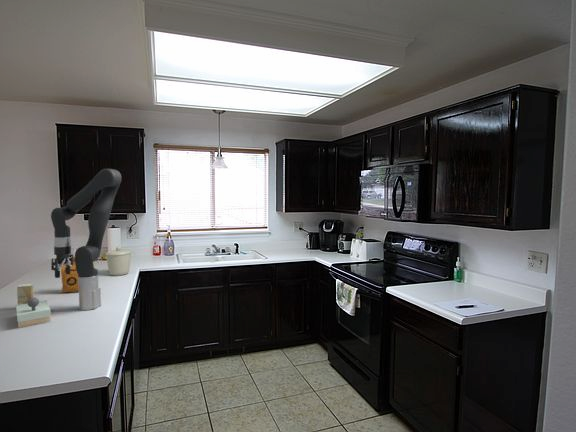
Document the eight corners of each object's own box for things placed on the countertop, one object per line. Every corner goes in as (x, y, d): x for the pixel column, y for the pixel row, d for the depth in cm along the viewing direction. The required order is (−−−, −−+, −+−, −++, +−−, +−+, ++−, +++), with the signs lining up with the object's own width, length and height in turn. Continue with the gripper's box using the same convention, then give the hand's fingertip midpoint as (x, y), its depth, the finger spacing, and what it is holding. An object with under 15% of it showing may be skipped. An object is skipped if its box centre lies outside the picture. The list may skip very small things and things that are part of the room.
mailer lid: (16, 311, 170) (15, 293, 169) (47, 306, 178) (46, 288, 177) (17, 322, 155) (16, 302, 155) (50, 316, 163) (50, 297, 163)
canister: (134, 274, 259) (133, 247, 258) (107, 278, 249) (106, 249, 247) (130, 270, 274) (129, 244, 273) (104, 273, 264) (103, 246, 262)
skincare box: (17, 309, 181) (16, 286, 181) (20, 307, 185) (18, 284, 185) (32, 308, 184) (31, 285, 183) (34, 305, 188) (33, 283, 187)
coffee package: (83, 292, 213) (81, 257, 211) (59, 294, 209) (58, 258, 207) (87, 288, 222) (85, 254, 221) (64, 290, 218) (63, 255, 217)
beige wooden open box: (17, 317, 170) (16, 307, 170) (46, 311, 178) (46, 302, 178) (18, 327, 156) (17, 316, 156) (50, 321, 164) (49, 311, 164)
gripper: (60, 247, 175) (61, 279, 176) (78, 243, 189) (78, 272, 190) (45, 247, 175) (46, 278, 176) (64, 243, 189) (64, 272, 190)
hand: (62, 275), depth 183 cm, fingers open, 8 cm apart
